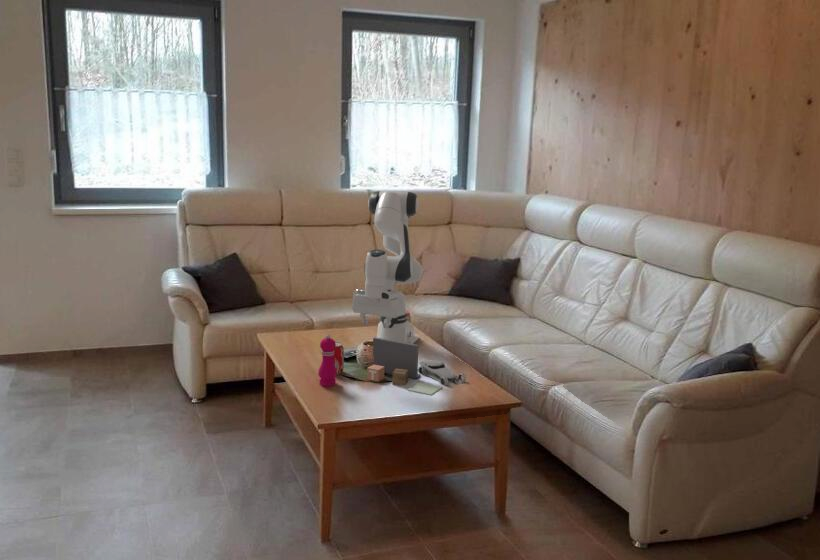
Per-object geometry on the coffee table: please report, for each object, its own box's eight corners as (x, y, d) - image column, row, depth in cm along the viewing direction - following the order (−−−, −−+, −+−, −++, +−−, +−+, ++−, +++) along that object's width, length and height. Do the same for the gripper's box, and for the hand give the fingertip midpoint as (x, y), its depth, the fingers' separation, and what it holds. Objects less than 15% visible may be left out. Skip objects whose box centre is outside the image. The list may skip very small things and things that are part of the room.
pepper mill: (315, 381, 302) (316, 332, 298) (333, 379, 305) (334, 331, 301) (321, 387, 296) (321, 337, 292) (339, 385, 299) (339, 336, 294)
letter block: (373, 376, 311) (373, 364, 310) (384, 378, 309) (384, 366, 308) (366, 379, 307) (367, 367, 306) (377, 382, 304) (378, 370, 303)
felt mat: (419, 382, 304) (419, 382, 304) (442, 387, 300) (442, 386, 300) (407, 390, 296) (407, 389, 296) (431, 395, 291) (431, 394, 291)
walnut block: (395, 380, 307) (395, 368, 306) (407, 381, 306) (408, 369, 305) (392, 384, 302) (392, 372, 301) (404, 385, 301) (405, 373, 300)
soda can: (340, 375, 310) (341, 347, 307) (324, 374, 311) (324, 345, 309) (345, 370, 317) (346, 342, 314) (329, 368, 318) (329, 340, 316)
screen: (377, 367, 321) (378, 335, 318) (420, 376, 312) (421, 343, 309) (372, 370, 317) (373, 338, 314) (415, 379, 308) (416, 346, 305)
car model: (445, 388, 301) (445, 375, 300) (411, 370, 321) (411, 358, 320) (468, 383, 307) (468, 371, 306) (433, 366, 327) (433, 354, 326)
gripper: (349, 290, 303) (348, 324, 306) (394, 296, 294) (394, 331, 297) (357, 287, 309) (357, 321, 311) (402, 293, 300) (401, 327, 302)
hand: (375, 326), depth 304 cm, fingers open, 8 cm apart
